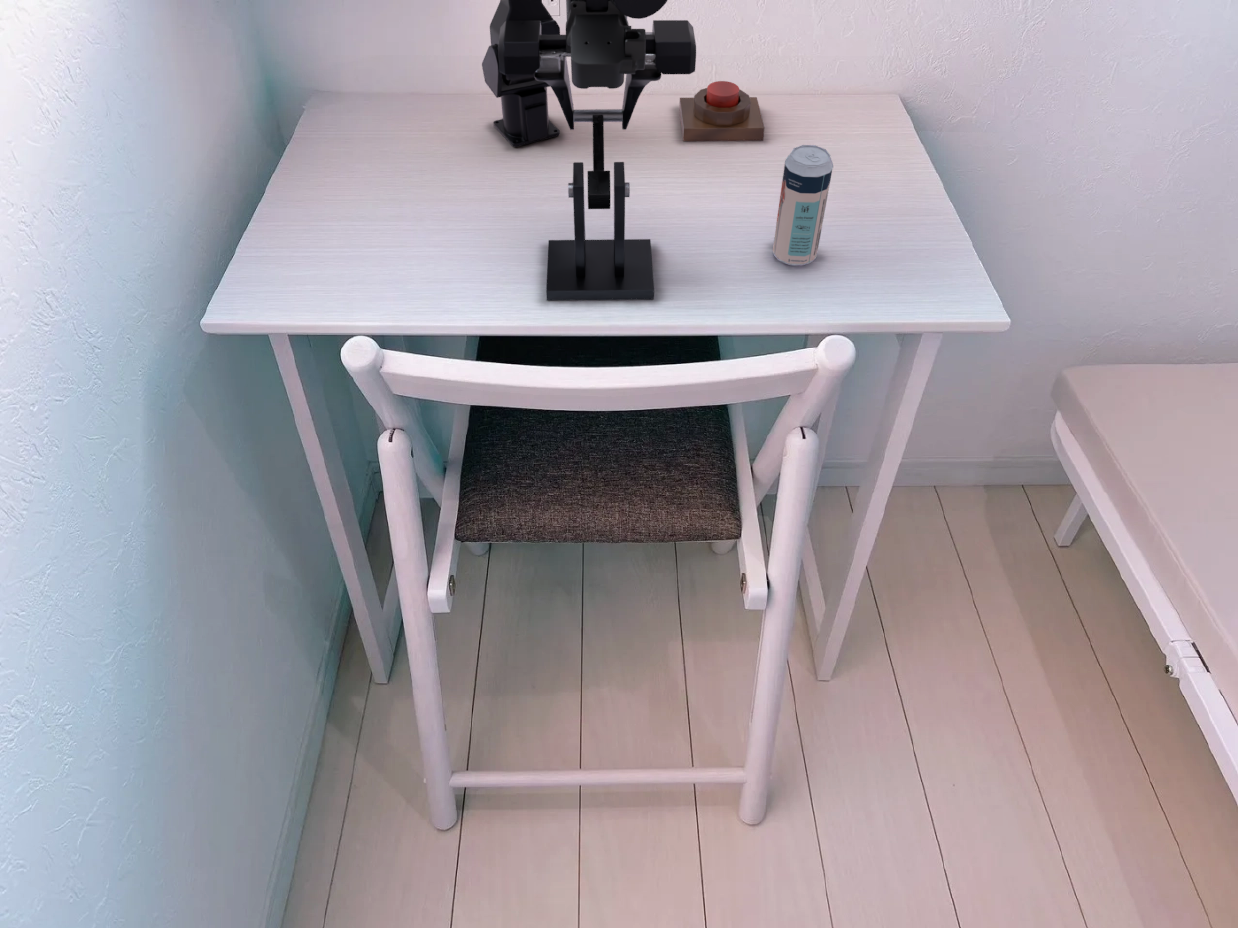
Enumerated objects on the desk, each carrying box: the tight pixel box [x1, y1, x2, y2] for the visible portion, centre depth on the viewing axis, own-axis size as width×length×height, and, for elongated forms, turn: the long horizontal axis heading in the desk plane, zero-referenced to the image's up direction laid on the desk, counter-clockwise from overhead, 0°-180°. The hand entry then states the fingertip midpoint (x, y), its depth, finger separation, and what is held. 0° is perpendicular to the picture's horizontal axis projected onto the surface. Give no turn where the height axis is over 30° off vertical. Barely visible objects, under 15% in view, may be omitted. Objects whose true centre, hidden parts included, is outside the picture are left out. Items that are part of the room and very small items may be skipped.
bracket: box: [545, 161, 655, 301], centre depth 99 cm, size 9×11×12 cm
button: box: [706, 80, 740, 108], centre depth 122 cm, size 4×4×2 cm
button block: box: [678, 87, 765, 142], centre depth 124 cm, size 10×8×4 cm
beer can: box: [772, 144, 834, 267], centre depth 101 cm, size 5×5×12 cm
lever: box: [573, 108, 623, 210], centre depth 98 cm, size 11×5×2 cm, turn 2°
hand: (597, 127), depth 101 cm, fingers closed on lever, 5 cm apart
